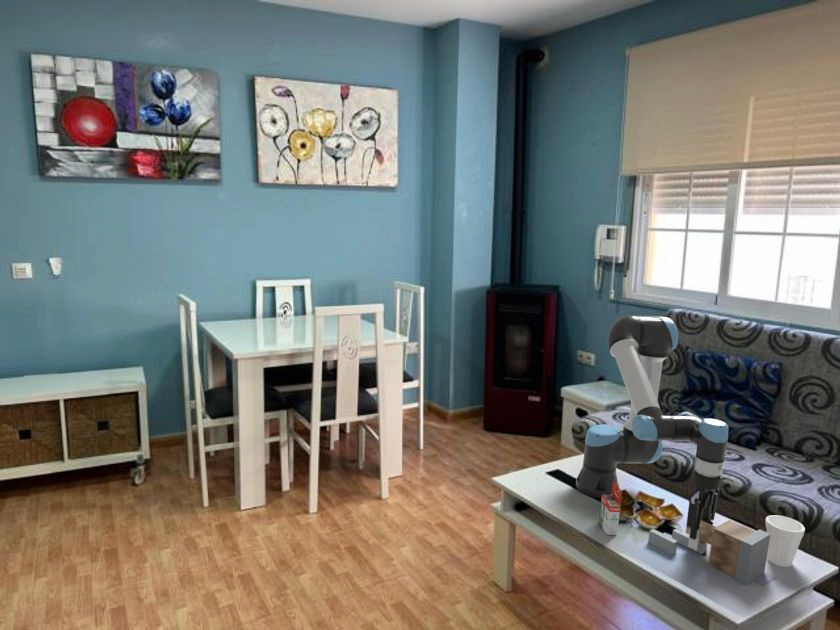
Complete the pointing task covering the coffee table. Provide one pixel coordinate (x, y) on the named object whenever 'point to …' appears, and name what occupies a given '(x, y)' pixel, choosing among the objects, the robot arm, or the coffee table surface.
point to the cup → (783, 539)
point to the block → (727, 546)
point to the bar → (704, 532)
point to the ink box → (610, 511)
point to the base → (740, 554)
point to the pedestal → (662, 541)
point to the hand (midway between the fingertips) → (697, 545)
